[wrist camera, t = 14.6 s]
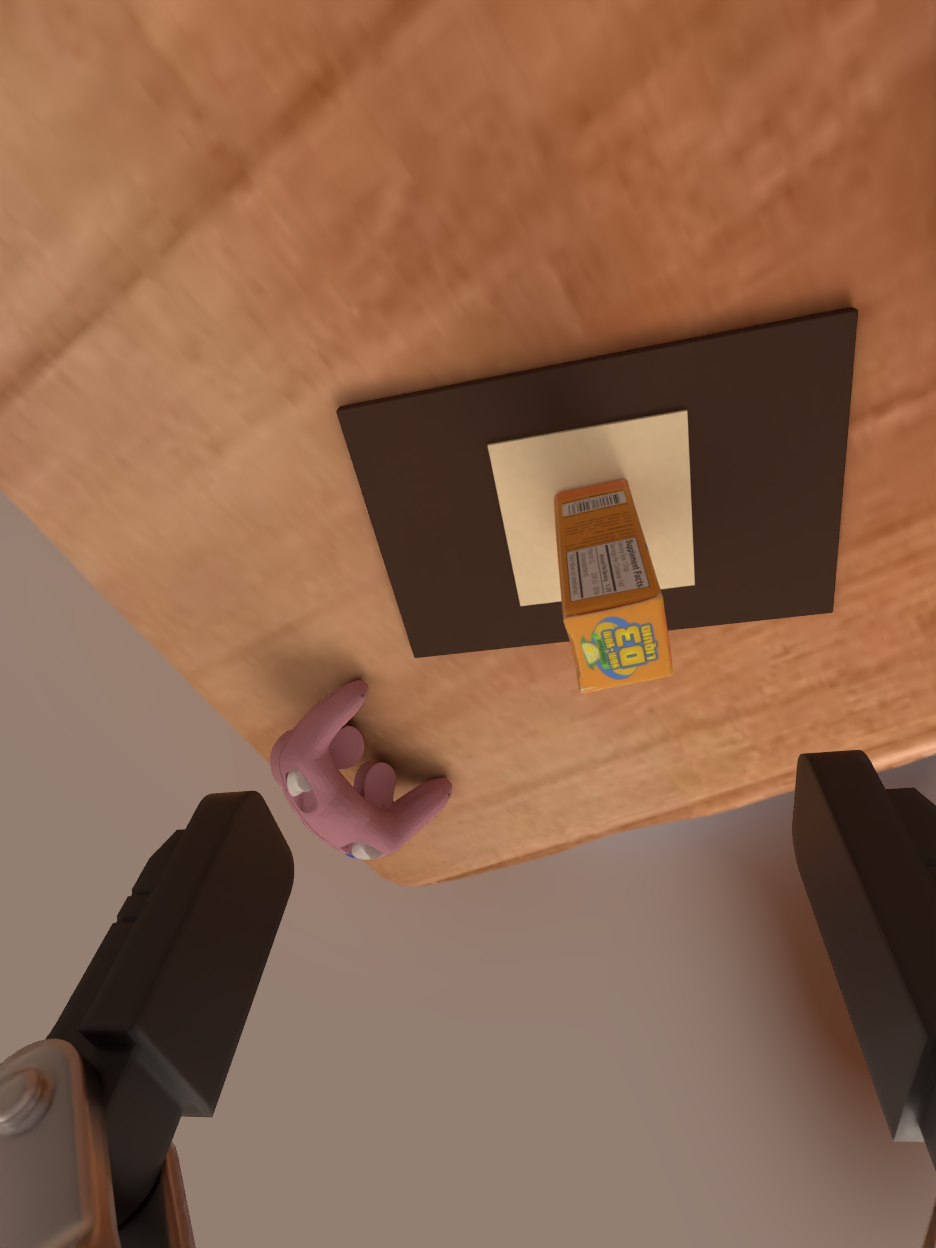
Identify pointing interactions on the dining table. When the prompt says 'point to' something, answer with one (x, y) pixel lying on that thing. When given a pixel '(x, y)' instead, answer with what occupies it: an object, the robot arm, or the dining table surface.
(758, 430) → the desk pad
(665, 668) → the supplement box
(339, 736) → the video game controller
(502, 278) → the dining table surface
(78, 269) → the dining table surface
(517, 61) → the dining table surface
